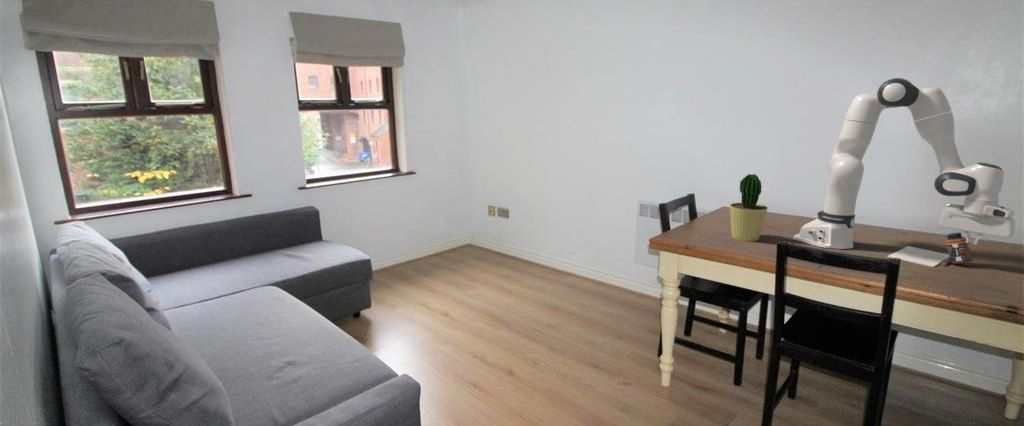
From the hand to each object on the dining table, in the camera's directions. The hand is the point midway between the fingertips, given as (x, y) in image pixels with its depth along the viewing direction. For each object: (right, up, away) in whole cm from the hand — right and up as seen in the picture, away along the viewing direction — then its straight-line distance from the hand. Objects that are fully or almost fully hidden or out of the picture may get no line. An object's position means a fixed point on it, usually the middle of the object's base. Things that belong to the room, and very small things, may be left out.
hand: (971, 243), depth 179 cm
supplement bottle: (-1, -8, +3) cm, 8 cm away
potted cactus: (-64, 0, +41) cm, 76 cm away
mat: (-8, -6, +13) cm, 17 cm away
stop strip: (-3, -8, +7) cm, 11 cm away
